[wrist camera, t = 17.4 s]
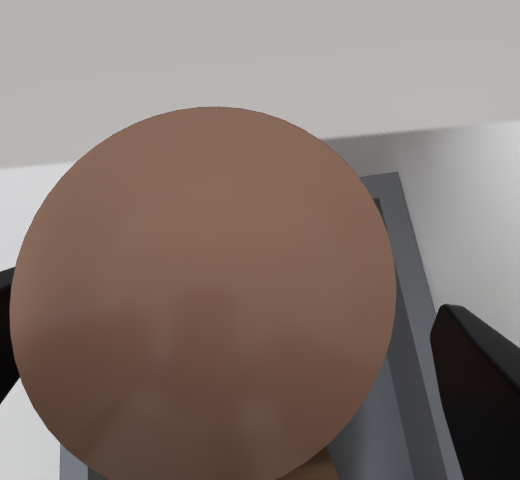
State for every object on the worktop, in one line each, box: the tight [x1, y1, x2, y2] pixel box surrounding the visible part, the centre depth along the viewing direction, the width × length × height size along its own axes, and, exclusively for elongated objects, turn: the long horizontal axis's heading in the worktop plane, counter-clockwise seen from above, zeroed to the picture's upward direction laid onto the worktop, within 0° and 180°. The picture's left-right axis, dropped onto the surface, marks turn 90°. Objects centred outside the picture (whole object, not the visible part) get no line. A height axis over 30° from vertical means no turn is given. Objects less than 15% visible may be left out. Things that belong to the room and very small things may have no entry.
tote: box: [60, 172, 464, 480], centre depth 14 cm, size 18×14×5 cm
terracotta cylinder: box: [10, 107, 396, 480], centre depth 11 cm, size 5×5×13 cm
